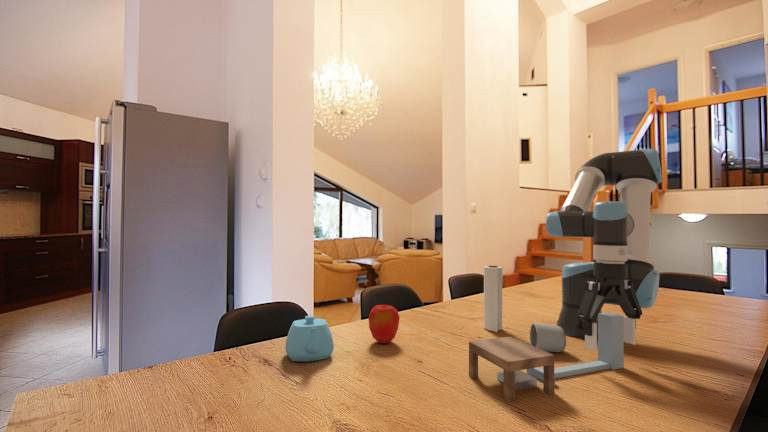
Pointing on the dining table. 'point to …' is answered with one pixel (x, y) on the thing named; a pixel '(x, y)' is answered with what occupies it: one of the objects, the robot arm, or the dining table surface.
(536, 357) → the walnut table
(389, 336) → the apple
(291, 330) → the teapot
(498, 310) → the paper towel roll
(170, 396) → the dining table surface
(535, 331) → the ceramic mug
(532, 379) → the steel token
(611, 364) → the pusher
